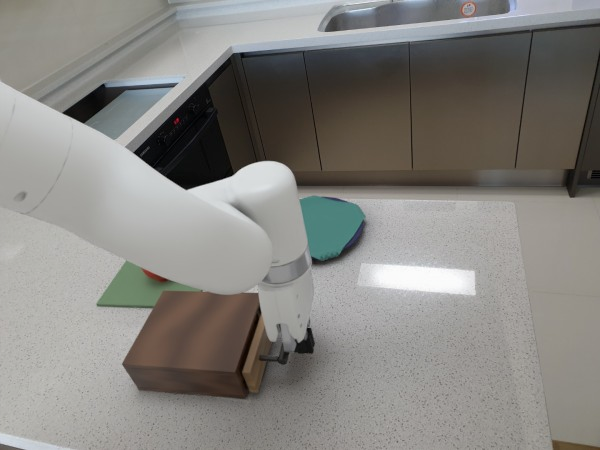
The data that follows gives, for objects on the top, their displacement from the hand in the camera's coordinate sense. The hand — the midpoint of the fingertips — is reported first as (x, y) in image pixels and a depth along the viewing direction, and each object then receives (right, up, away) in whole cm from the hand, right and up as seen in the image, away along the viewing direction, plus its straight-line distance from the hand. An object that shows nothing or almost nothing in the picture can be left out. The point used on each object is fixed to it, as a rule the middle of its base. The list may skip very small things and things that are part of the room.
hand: (303, 348), depth 68 cm
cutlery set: (-2, +18, +28) cm, 33 cm away
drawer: (-11, -1, +4) cm, 12 cm away
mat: (-27, +9, +24) cm, 38 cm away
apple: (-27, +11, +20) cm, 36 cm away
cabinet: (-15, -2, +6) cm, 17 cm away
